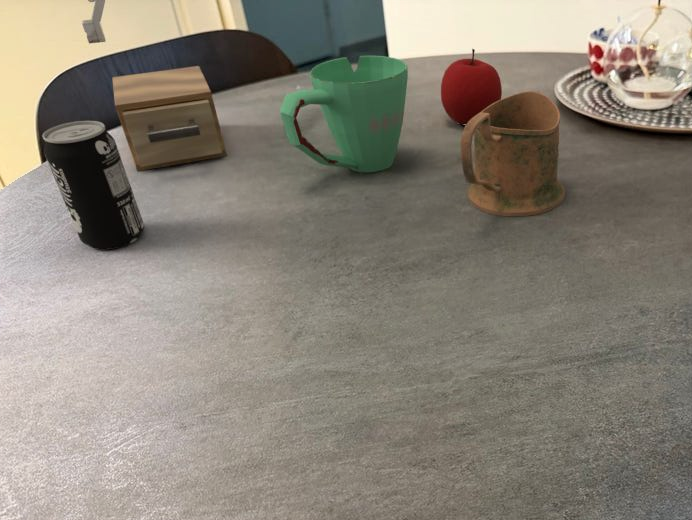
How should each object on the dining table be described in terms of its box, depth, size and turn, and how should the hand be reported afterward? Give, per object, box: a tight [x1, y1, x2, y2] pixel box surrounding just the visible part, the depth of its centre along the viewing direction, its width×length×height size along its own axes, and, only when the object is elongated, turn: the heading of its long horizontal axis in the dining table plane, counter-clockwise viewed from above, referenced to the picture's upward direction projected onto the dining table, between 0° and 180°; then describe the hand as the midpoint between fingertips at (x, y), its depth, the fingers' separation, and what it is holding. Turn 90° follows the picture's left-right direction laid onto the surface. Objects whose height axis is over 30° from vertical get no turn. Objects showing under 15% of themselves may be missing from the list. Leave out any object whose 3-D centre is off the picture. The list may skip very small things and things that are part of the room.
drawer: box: [123, 99, 222, 167], centre depth 93 cm, size 17×10×7 cm, turn 24°
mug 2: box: [460, 90, 566, 217], centre depth 78 cm, size 12×18×12 cm, turn 152°
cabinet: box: [111, 65, 228, 172], centre depth 96 cm, size 14×12×9 cm
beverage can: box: [41, 120, 145, 251], centre depth 73 cm, size 7×7×12 cm
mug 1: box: [279, 55, 409, 173], centre depth 87 cm, size 18×12×12 cm
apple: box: [440, 48, 503, 125], centre depth 101 cm, size 9×9×10 cm
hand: (42, 48), depth 65 cm, fingers open, 8 cm apart
